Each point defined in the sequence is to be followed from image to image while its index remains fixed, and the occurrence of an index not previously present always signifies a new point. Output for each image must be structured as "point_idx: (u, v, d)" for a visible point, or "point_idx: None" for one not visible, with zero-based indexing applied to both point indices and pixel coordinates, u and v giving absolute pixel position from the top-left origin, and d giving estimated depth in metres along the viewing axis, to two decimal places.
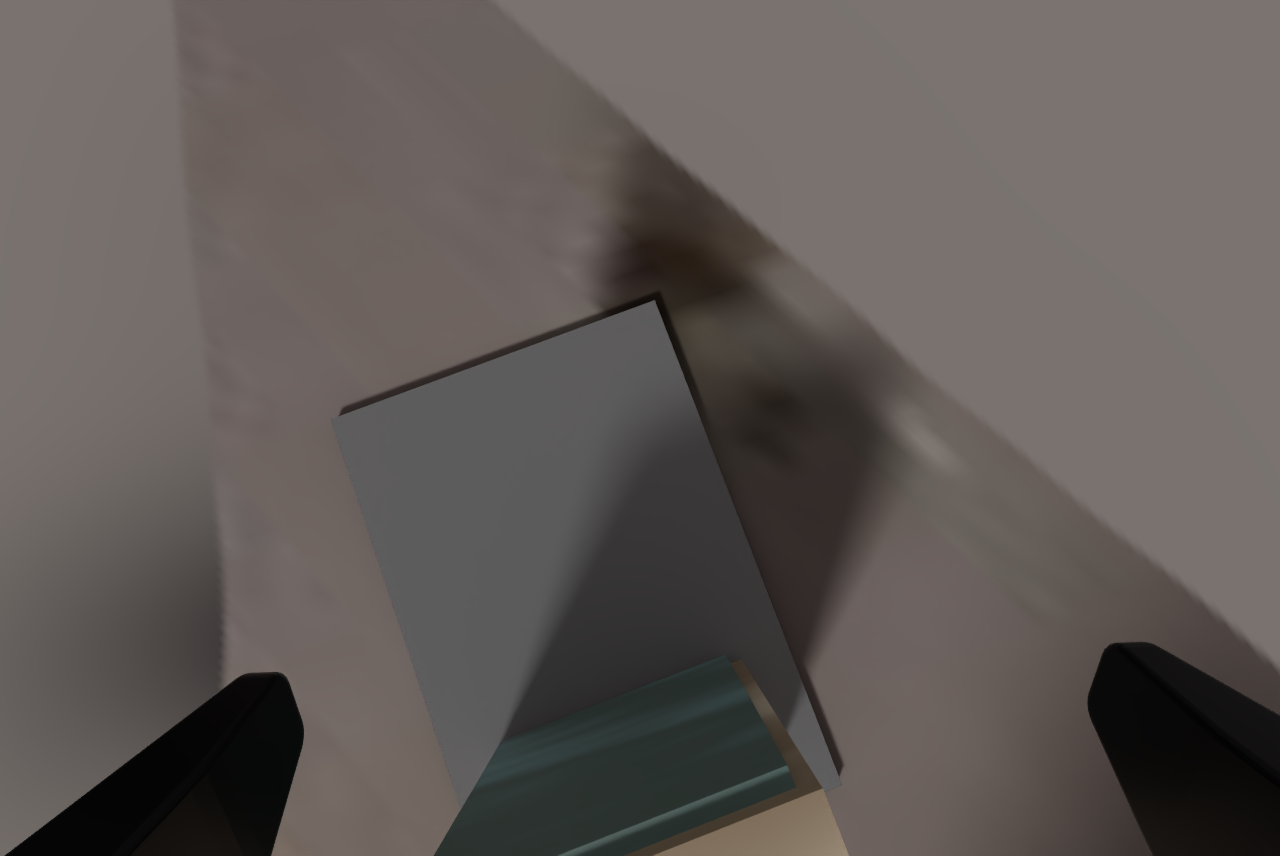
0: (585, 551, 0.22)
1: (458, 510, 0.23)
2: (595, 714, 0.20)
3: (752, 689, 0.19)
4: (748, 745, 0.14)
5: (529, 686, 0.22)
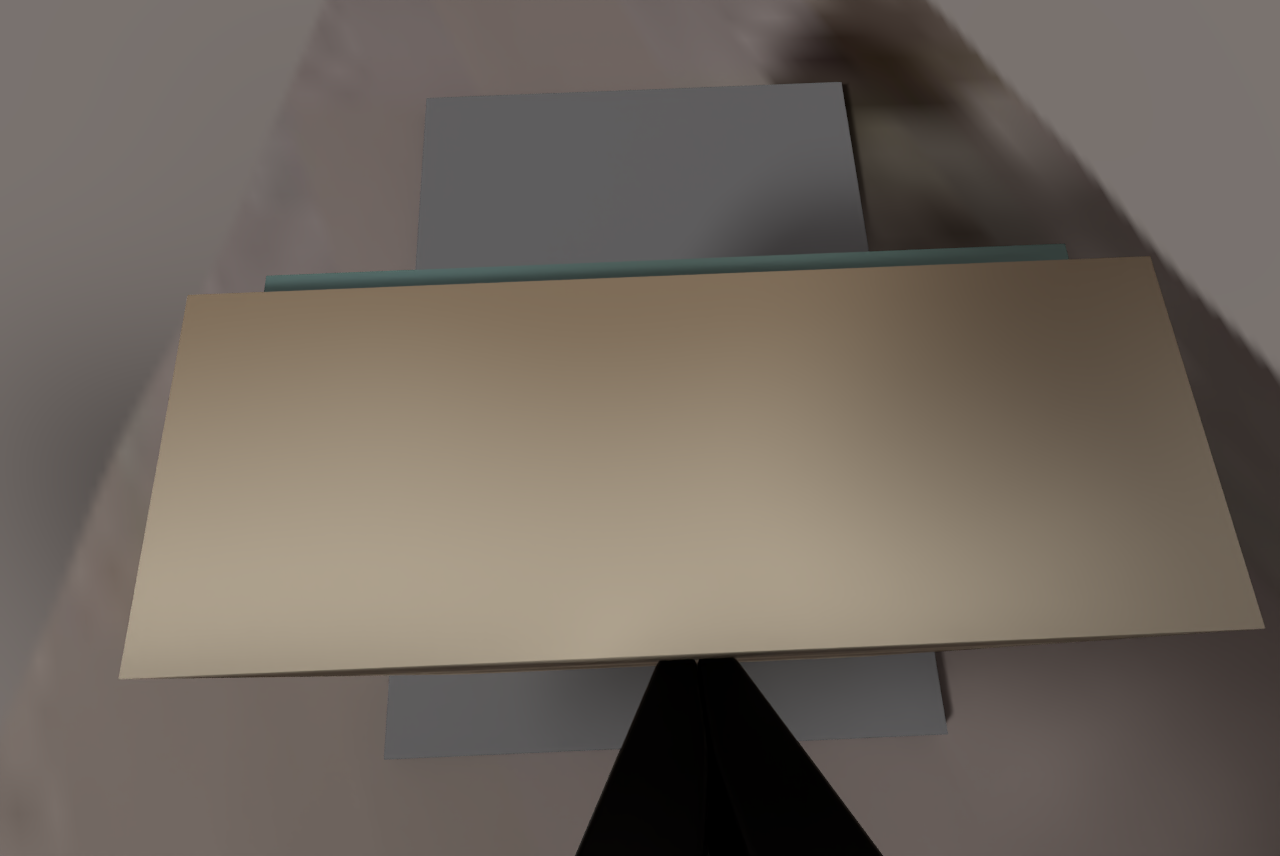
0: None
1: (533, 228, 0.18)
2: None
3: None
4: None
5: None
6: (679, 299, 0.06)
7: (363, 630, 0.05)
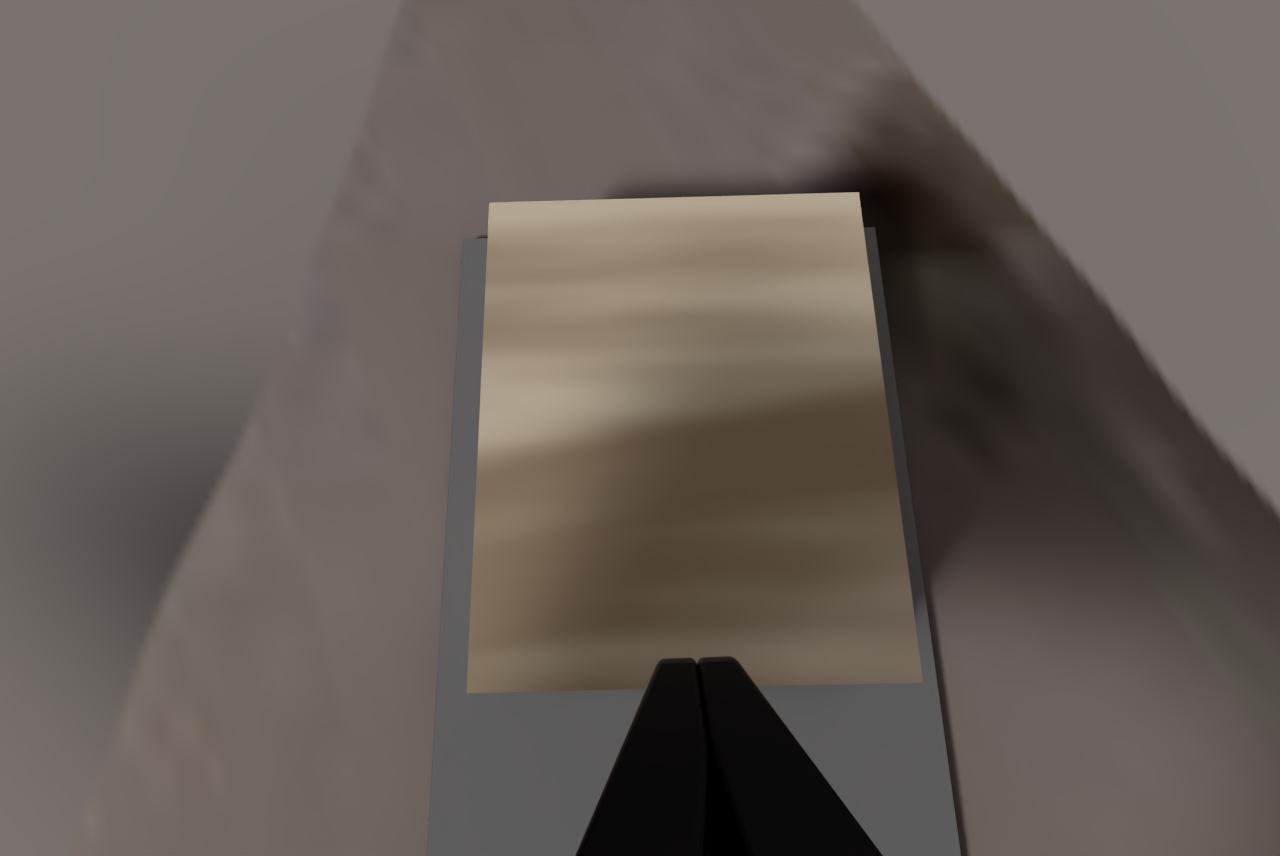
0: None
1: None
2: None
3: None
4: None
5: None
6: None
7: (567, 207, 0.16)
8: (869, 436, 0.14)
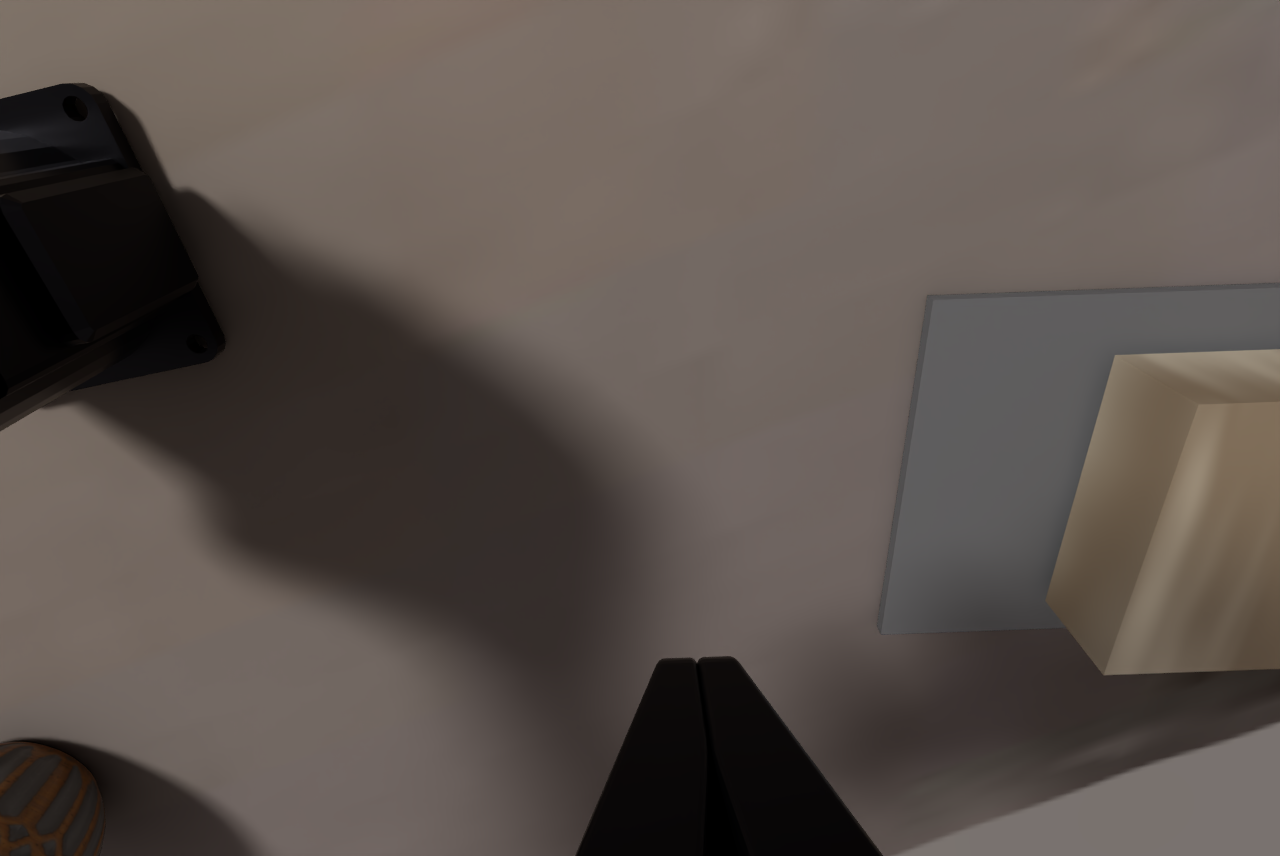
0: None
1: None
2: None
3: None
4: None
5: None
6: None
7: None
8: (1276, 657, 0.19)
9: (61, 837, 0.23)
